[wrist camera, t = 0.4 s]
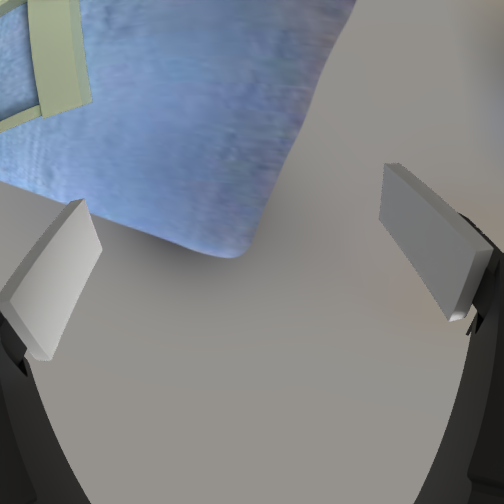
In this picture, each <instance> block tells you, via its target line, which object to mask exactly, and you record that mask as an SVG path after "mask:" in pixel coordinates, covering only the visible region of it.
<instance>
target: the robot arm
mask: <svg viewBox="0 0 504 504" xmlns="http://www.w3.org/2000/svg"><path fill="white" fill-rule="evenodd" d="M379 220H380V221H381V223H382V224H383V225H384V227H385V228H386V229H387V231H388V232H389V233H390V235H391V236H392V237H393V239H394V240H395V241H396V243H397V244H398V245H399V247H400V248H401V250H402V251H403V252H404V254H405V255H406V257H407V258H408V260H409V261H410V262H411V264H412V265H413V267H414V268H415V269H416V271H417V273H418V274H419V276H420V277H421V279H422V280H423V282H424V283H425V285H426V286H427V288H428V289H429V291H430V292H431V294H432V295H433V297H434V299H435V300H436V302H437V303H438V305H439V307H440V308H441V310H442V311H443V313H444V314H445V316H446V318H447V319H448V321H449V322H450V321H454V320H457V319H461V318H465V317H466V316H467V314H468V311H469V309H470V307H471V305H472V304H473V305H474V306H475V308H476V309H477V313H476V315H475V317H474V319H473V321H472V323H471V325H470V327H469V329H468V331H467V333H466V335H469V334H470V332H471V337H470V342H469V347H468V352H467V356H466V361H465V365H464V369H463V374H462V378H461V381H460V386H459V389H458V392H457V396H456V399H455V403H454V406H453V409H452V412H451V416H450V419H449V422H448V425H447V428H446V430H445V433H444V436H443V439H442V441H441V444H440V447H439V449H438V452H437V454H436V457H435V459H434V462H433V464H432V466H431V469H430V471H429V473H428V475H427V478H426V480H425V482H424V484H423V486H422V488H421V491H420V493H419V495H418V497H417V499H416V500H415V502H414V504H504V253H502V252H501V251H500V249H499V248H498V247H497V246H496V245H495V244H494V243H493V242H492V241H491V240H490V239H489V238H488V237H487V236H486V235H485V234H483V232H482V231H481V230H480V229H479V228H476V225H475V224H474V223H472V221H470V220H469V219H468V218H467V217H465V216H463V215H462V214H460V213H458V212H456V211H455V210H454V209H453V208H452V207H451V206H449V204H447V203H446V202H445V201H444V200H443V199H442V198H441V197H440V196H438V195H437V194H436V193H435V192H434V191H433V190H431V189H430V188H429V187H428V186H427V185H426V184H424V183H423V182H422V181H421V180H419V179H418V178H417V177H416V176H415V175H413V174H412V173H411V172H410V171H408V170H407V169H406V168H405V167H403V166H402V165H401V164H399V163H391V164H384V174H383V185H382V196H381V205H380V214H379ZM102 250H103V249H102V247H101V244H100V242H99V239H98V236H97V233H96V231H95V228H94V225H93V222H92V219H91V217H90V214H89V211H88V208H87V205H86V202H85V199H79V200H75V201H71V202H70V203H69V204H68V205H67V206H66V207H65V208H64V210H63V211H62V212H61V213H60V214H59V215H58V217H57V218H56V219H55V220H54V221H53V222H52V224H51V225H50V226H49V227H48V228H47V230H46V231H45V232H44V233H43V235H42V236H41V237H40V238H39V240H38V241H37V242H36V244H35V245H34V246H33V247H32V249H31V250H30V251H29V253H28V254H27V255H26V257H25V258H24V259H23V261H22V262H21V263H20V265H19V266H18V267H17V269H16V270H15V272H14V273H13V275H12V276H11V278H10V279H9V280H8V282H7V283H6V285H5V286H4V288H3V289H2V291H1V292H0V504H91V503H90V501H89V500H88V498H87V496H86V495H85V493H84V491H83V489H82V488H81V486H80V484H79V482H78V480H77V479H76V477H75V475H74V473H73V471H72V469H71V467H70V465H69V463H68V461H67V459H66V457H65V455H64V453H63V451H62V449H61V447H60V445H59V442H58V440H57V438H56V436H55V433H54V431H53V429H52V426H51V424H50V421H49V419H48V416H47V414H46V412H45V409H44V406H43V404H42V401H41V398H40V396H39V392H38V390H37V387H36V384H35V381H34V378H33V374H32V371H31V368H30V365H29V363H28V361H27V359H26V358H25V357H24V354H25V352H26V350H27V349H28V350H29V352H30V353H31V354H32V356H33V357H34V358H35V359H36V360H46V361H51V360H52V358H53V355H54V353H55V350H56V348H57V345H58V343H59V340H60V338H61V336H62V333H63V331H64V328H65V326H66V324H67V322H68V320H69V317H70V315H71V313H72V311H73V308H74V306H75V304H76V302H77V300H78V297H79V296H80V293H81V291H82V289H83V287H84V285H85V283H86V281H87V279H88V277H89V275H90V273H91V271H92V269H93V267H94V265H95V263H96V261H97V260H98V258H99V256H100V254H101V252H102Z"/></svg>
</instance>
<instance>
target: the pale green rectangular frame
mask: <svg viewBox="0 0 504 504" xmlns="http://www.w3.org/2000/svg"><path fill="white" fill-rule="evenodd" d="M27 1H28V19H29V32H30V43H31V52H32V60H33V67H34V74H35V80H36V86H37V91H38V97H39V102H40V105H37V106H34V107H32V108H29V109H27V110H24V111H22V112H20V113H18V114H15V115H13V116H11V117H9V118H6V119H4V120H2V121H0V133H1V132H3V131H6V130H8V129H10V128H13V127H15V126H17V125H20V124H22V123H25V122H27V121H30V120H32V119H35V118H37V117H39V116H42V117H43V119H45V118H47V117H50V116H53V115H56V114H59V113H62V112H65V111H68V110H71V109H74V108H77V107H80V106H83V105H86V104H89V103H91V102H93V101H92V96H91V90H90V85H89V78H88V72H87V65H86V59H85V51H84V43H83V35H82V25H81V14H80V2H79V0H0V17H1V16H3V15H4V14H6V13H8V12H9V11H11V10H13V9H14V8H16V7H18V6H20V5H22V4H23V3H25V2H27Z"/></svg>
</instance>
